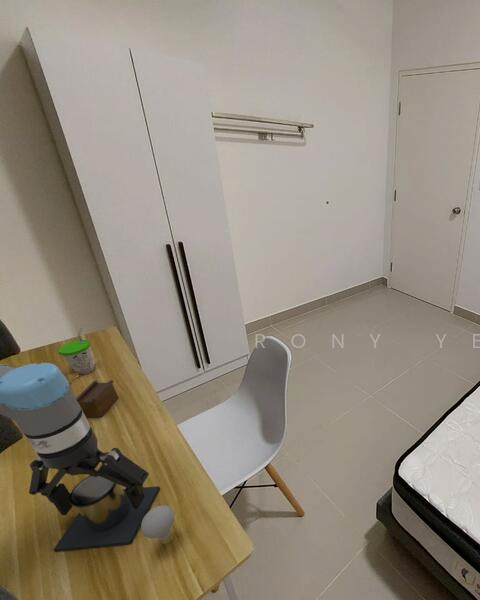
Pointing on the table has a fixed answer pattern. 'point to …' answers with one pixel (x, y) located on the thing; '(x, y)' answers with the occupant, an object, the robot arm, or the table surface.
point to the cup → (78, 355)
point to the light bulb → (158, 523)
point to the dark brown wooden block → (97, 399)
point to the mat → (119, 535)
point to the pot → (100, 502)
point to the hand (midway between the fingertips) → (104, 505)
